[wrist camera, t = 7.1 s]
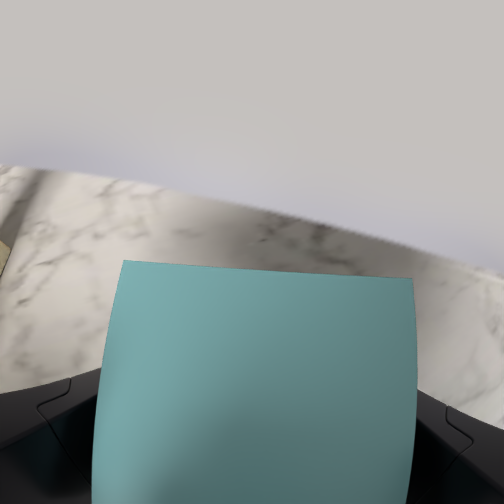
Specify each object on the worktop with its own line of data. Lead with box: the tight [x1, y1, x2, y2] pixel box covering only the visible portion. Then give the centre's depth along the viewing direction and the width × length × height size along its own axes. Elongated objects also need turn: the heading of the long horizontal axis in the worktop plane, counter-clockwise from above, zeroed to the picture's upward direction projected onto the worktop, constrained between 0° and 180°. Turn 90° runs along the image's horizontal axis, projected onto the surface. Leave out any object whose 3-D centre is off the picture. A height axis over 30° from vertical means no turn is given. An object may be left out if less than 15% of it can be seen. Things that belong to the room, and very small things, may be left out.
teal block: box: [92, 260, 417, 504], centre depth 10 cm, size 6×6×12 cm
